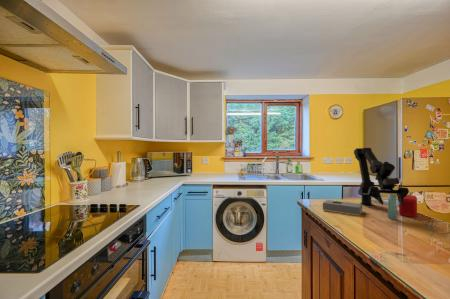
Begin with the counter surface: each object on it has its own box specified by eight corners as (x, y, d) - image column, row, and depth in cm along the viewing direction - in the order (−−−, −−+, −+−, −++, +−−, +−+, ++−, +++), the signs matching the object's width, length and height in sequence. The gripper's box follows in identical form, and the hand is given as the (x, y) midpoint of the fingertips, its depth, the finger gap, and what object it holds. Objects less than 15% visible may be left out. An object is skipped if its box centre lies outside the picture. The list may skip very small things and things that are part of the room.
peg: (388, 217, 129) (388, 193, 129) (396, 218, 127) (396, 194, 127) (388, 219, 127) (387, 194, 127) (396, 220, 124) (396, 195, 124)
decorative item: (398, 209, 145) (398, 193, 145) (417, 212, 139) (416, 195, 139) (396, 215, 133) (396, 197, 133) (417, 218, 128) (416, 199, 128)
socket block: (327, 206, 154) (327, 199, 154) (362, 211, 141) (362, 204, 141) (322, 209, 146) (322, 202, 146) (359, 215, 134) (359, 207, 133)
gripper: (369, 172, 134) (377, 195, 123) (407, 172, 129) (418, 196, 119) (364, 184, 142) (371, 207, 131) (400, 185, 137) (410, 208, 126)
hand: (392, 204), depth 126 cm, fingers open, 9 cm apart
